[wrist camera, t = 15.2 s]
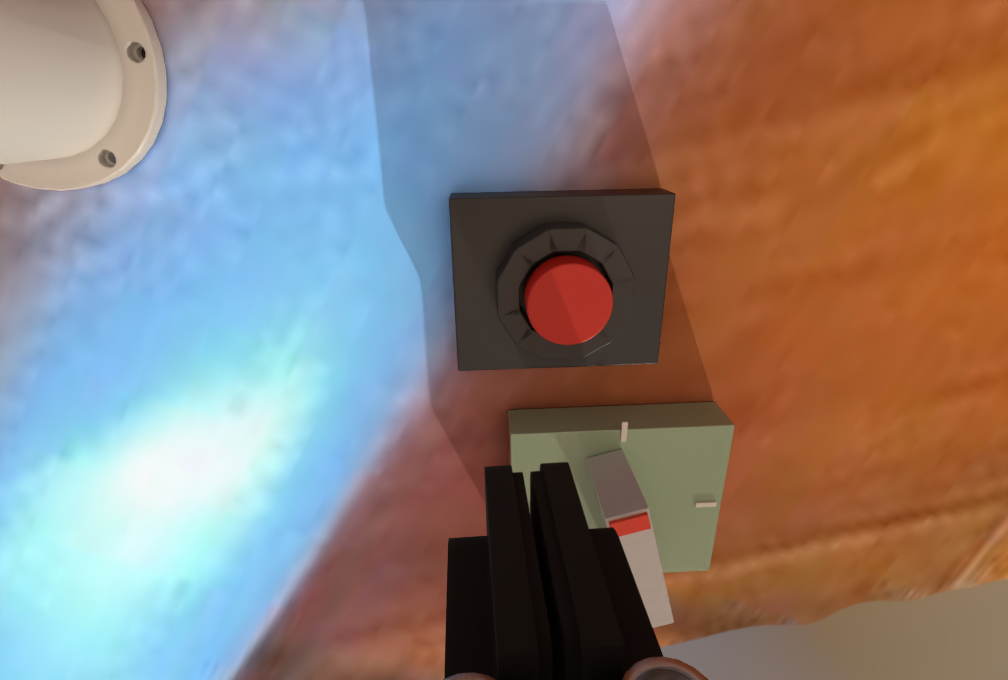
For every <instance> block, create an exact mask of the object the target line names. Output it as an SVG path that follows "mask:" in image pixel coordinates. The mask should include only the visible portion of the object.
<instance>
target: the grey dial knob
mask: <svg viewBox="0 0 1008 680" xmlns="http://www.w3.org/2000/svg"><path fill="white" fill-rule="evenodd" d="M586 463H587V467H588V471H589V475H590V478H591V482H592V486H593V489H594V493H595V497H596V501H597V504H598V508H599V512H600V515H601V519H602V523H603V527H604V528H609V527H613V528H614V529H615V530H616V532H617V534H618V536H619V539H620V541H621V544H622V547H623V550H624V552H625V555H626V558H627V560H628V563H629V566H630V568H631V571H632V574H633V576H634V579H635V582H636V585H637V587H638V590H639V593H640V595H641V598H642V601H643V603H644V606H645V609H646V611H647V614H648V617H649V620H650V622H651V625H652V628H654V627H658V626H662V625H666V624H671V623H674V620H673V615H672V611H671V606H670V602H669V597H668V593H667V588H666V584H665V579H664V575H663V570H662V566H661V561H660V557H659V552H658V548H657V543H656V538H655V534H654V529H653V525H652V520H651V516H650V511H649V507H648V505H647V503H646V501H645V498H644V496H643V494H642V492H641V490H640V487H639V485H638V483H637V481H636V478H635V476H634V474H633V472H632V469H631V467H630V465H629V463H628V460H627V458H626V456H625V454H624V451H623V449H620V450H616V451H612V452H609V453H605V454H601V455H597V456H594V457H590V458H586Z"/></svg>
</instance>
